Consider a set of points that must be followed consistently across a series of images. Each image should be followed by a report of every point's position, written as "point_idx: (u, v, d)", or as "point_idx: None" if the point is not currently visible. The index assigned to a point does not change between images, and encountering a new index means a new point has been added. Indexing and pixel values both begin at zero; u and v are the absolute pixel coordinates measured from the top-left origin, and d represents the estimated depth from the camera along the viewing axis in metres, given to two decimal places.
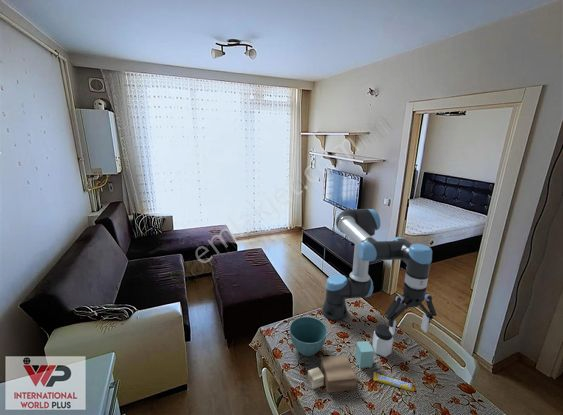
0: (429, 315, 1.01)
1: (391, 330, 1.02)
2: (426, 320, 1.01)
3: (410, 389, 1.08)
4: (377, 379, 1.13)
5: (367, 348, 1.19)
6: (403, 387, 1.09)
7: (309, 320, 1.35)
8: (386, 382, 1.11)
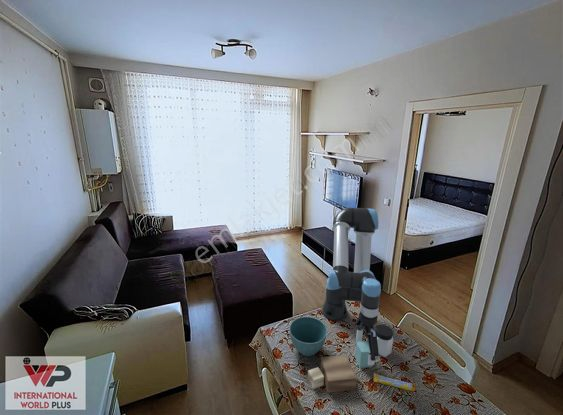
0: (370, 350, 1.11)
1: None
2: None
3: (410, 389, 1.08)
4: (377, 380, 1.12)
5: (367, 348, 1.19)
6: (403, 387, 1.09)
7: (309, 320, 1.35)
8: (386, 383, 1.11)
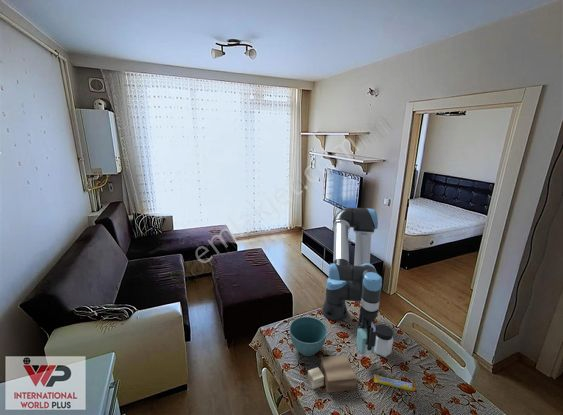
0: (367, 341, 1.15)
1: None
2: None
3: (411, 389, 1.08)
4: (378, 381, 1.12)
5: None
6: (404, 387, 1.09)
7: (309, 320, 1.35)
8: (387, 383, 1.11)
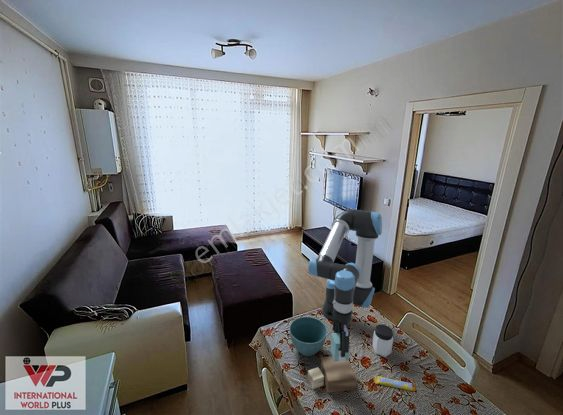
0: (340, 346, 1.04)
1: None
2: None
3: (411, 389, 1.08)
4: (378, 381, 1.12)
5: None
6: (404, 388, 1.09)
7: (309, 320, 1.35)
8: (387, 384, 1.10)
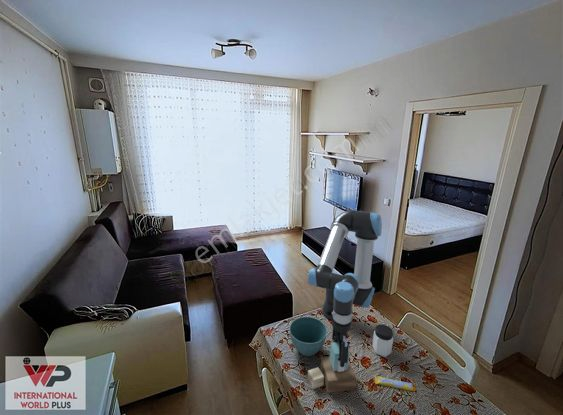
0: (339, 356, 1.06)
1: None
2: None
3: (411, 389, 1.08)
4: (378, 382, 1.12)
5: None
6: (404, 388, 1.09)
7: (309, 320, 1.35)
8: (387, 384, 1.10)
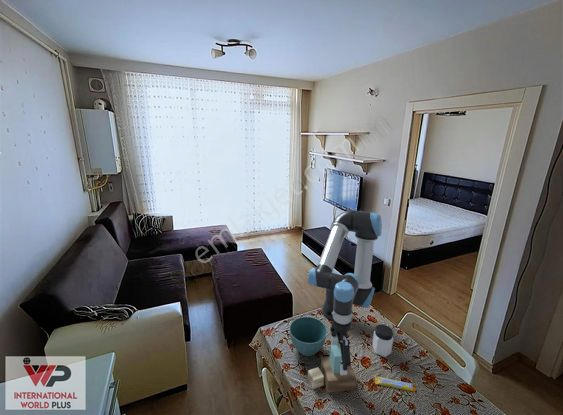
0: (342, 359, 1.03)
1: None
2: None
3: (411, 389, 1.08)
4: (378, 382, 1.11)
5: None
6: (404, 388, 1.09)
7: (309, 320, 1.35)
8: (387, 384, 1.10)
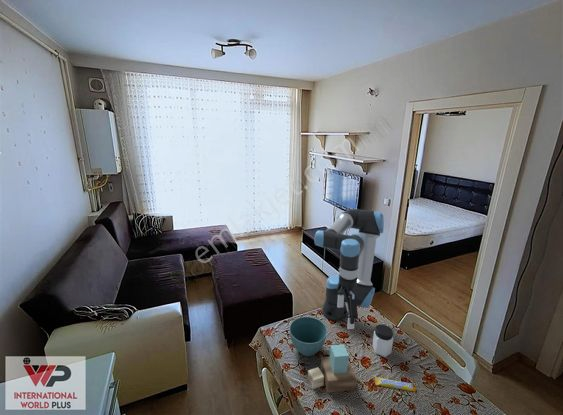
0: (349, 313, 1.06)
1: None
2: None
3: (412, 389, 1.08)
4: (379, 383, 1.11)
5: (342, 352, 1.09)
6: (405, 388, 1.09)
7: (309, 320, 1.35)
8: (388, 385, 1.10)
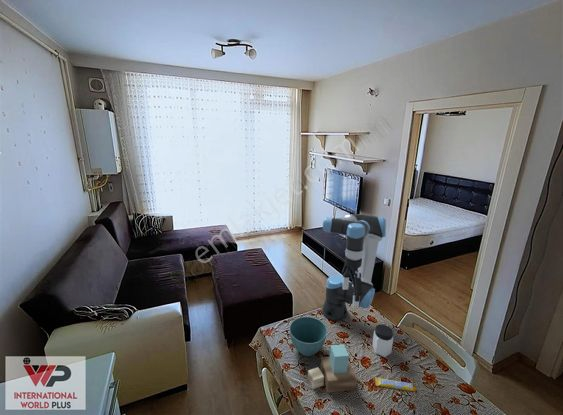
0: (354, 291, 1.15)
1: None
2: None
3: (412, 389, 1.08)
4: (379, 384, 1.11)
5: (342, 352, 1.09)
6: (405, 388, 1.09)
7: (309, 320, 1.35)
8: (388, 385, 1.10)
